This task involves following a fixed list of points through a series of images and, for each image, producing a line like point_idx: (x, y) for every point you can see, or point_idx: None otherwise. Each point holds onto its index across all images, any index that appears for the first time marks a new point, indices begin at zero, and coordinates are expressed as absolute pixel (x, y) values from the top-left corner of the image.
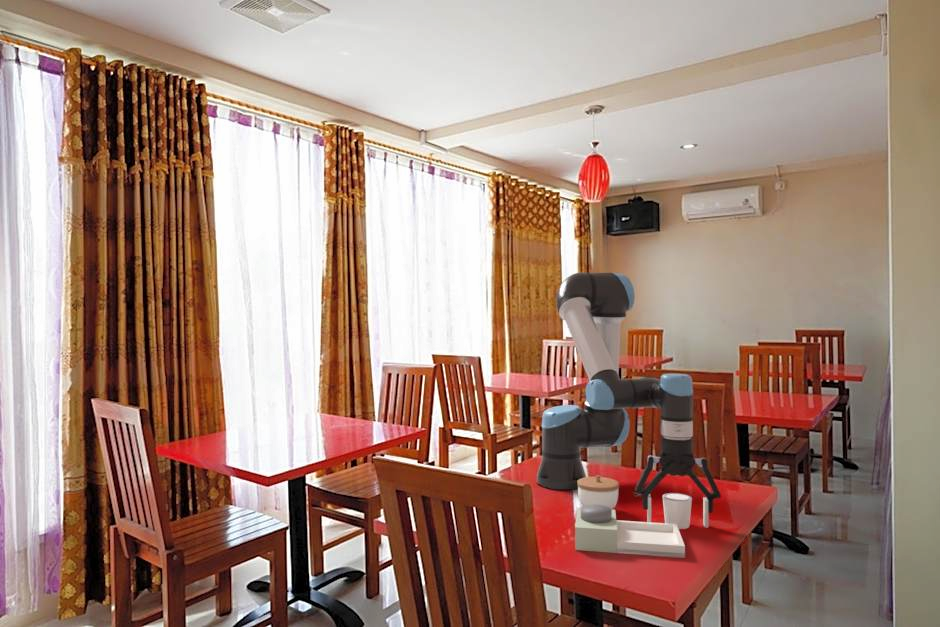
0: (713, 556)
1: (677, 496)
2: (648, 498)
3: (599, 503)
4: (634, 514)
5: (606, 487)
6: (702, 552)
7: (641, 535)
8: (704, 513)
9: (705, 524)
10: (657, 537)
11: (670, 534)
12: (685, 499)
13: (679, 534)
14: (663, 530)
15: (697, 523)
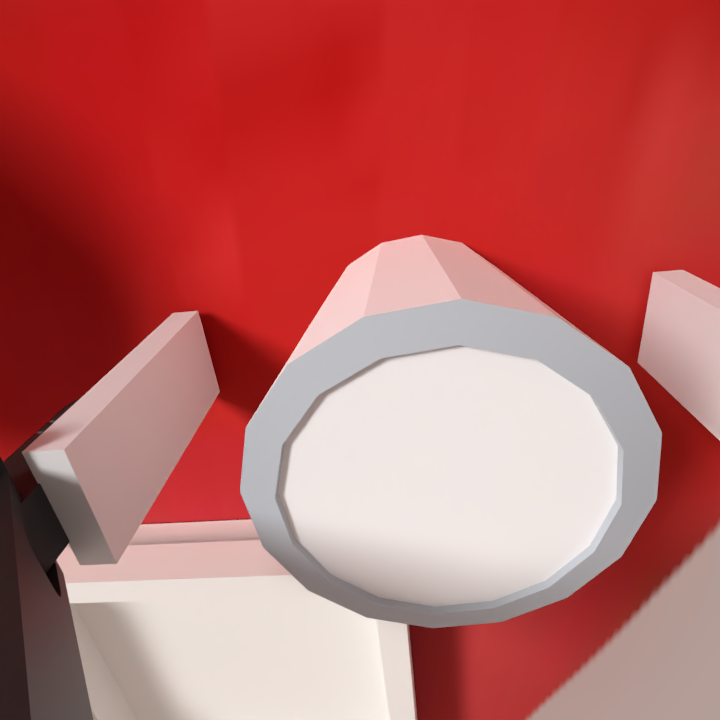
0: (548, 698)
1: (454, 470)
2: (92, 553)
3: None
4: (18, 137)
5: None
6: (507, 675)
7: (201, 632)
8: (708, 392)
9: (652, 372)
10: (288, 639)
11: None
12: (545, 564)
13: (407, 700)
14: None
15: (604, 243)
